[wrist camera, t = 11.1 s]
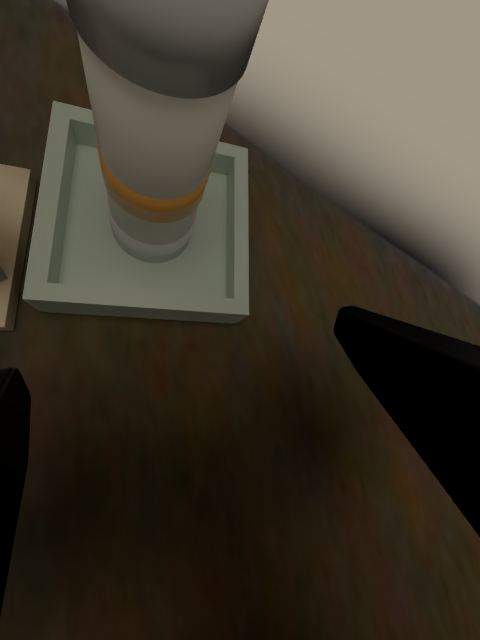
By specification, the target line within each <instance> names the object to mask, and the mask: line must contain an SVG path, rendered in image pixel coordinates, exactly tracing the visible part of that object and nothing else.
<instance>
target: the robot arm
mask: <svg viewBox="0 0 480 640" xmlns="http://www.w3.org/2000/svg"><path fill="white" fill-rule="evenodd" d="M334 334H335V336H336V338H337V339H338V341H339V343H340V344H341V346H342V348H343V349H344V351H345V353H346V354H347V356H348V358H349V359H350V361H351V363H352V364H353V366H354V367H355V369H356V371H357V372H358V373H359V375H360V376H361V378H362V379H363V380H364V382H365V383H366V384H367V386H368V387H369V388H370V390H371V391H372V392H373V394H374V395H375V396H376V398H377V399H378V400H379V402H380V403H381V404H382V406H383V407H384V409H385V410H386V411H387V413H388V414H389V415H390V417H391V418H392V419H393V421H394V422H395V423H396V425H397V426H398V427H399V429H400V430H401V431H402V433H403V434H404V435H405V437H406V438H407V439H408V441H409V442H410V443H411V445H412V446H413V447H414V449H415V450H416V451H417V453H418V454H419V456H420V457H421V458H422V460H423V461H424V462H425V464H426V465H427V466H428V468H429V469H430V470H431V472H432V473H433V474H434V476H435V477H436V478H437V480H438V481H439V482H440V484H441V485H442V486H443V488H444V489H445V490H446V492H447V493H448V494H449V496H450V497H451V499H452V500H453V502H454V503H455V504H456V506H457V507H458V508H459V510H460V511H461V512H462V514H463V515H464V516H465V518H466V519H467V520H468V522H469V523H470V524H471V526H472V527H473V528H474V530H475V531H476V532H477V534H478V535H479V537H480V346H478V345H473V344H471V343H468V342H465V341H462V340H459V339H456V338H453V337H450V336H446V335H443V334H440V333H437V332H434V331H431V330H428V329H424V328H421V327H418V326H415V325H412V324H409V323H406V322H403V321H399V320H396V319H393V318H390V317H387V316H384V315H381V314H378V313H374V312H371V311H368V310H365V309H362V308H359V307H356V306H346V307H342V308H340V310H339V311H338V315H337V318H336V322H335V325H334ZM30 409H31V397H30V392H29V390H28V388H27V386H26V384H25V381H24V379H23V377H22V375H21V373H20V371H19V370H18V369H17V368H16V367H7V368H2V369H0V615H1V610H2V604H3V599H4V593H5V588H6V582H7V577H8V571H9V565H10V560H11V554H12V549H13V543H14V538H15V532H16V527H17V521H18V515H19V510H20V504H21V499H22V493H23V488H24V482H25V477H26V471H27V464H28V453H29V431H30Z"/></svg>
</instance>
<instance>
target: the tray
mask: <svg viewBox="0 0 480 640" xmlns="http://www.w3.org/2000/svg"><path fill="white" fill-rule="evenodd" d="M107 197H108V196H107V190H106V187H105V184H104V180H103V176H102V171H101V166H100V160H99V155H98V150H97V136H96V131H95V125H94V120H93V114H92V110H89V109H85V108H81V107H77V106H73V105H69V104H64V103H60V102H56V101H53V105H52V112H51V118H50V125H49V131H48V137H47V144H46V150H45V157H44V163H43V169H42V176H41V182H40V189H39V195H38V201H37V208H36V214H35V221H34V227H33V233H32V240H31V246H30V253H29V259H28V265H27V272H26V278H25V285H24V291H23V297H22V299H23V300H24V301H26V302H27V303H29V304H30V305H32V306H33V307H34V308H36V309H37V310H39V311H40V312H50V313H67V314H83V315H99V316H116V317H132V318H149V319H165V320H182V321H198V322H215V323H231V324H236V323H238V322H239V321H241V320H242V319H244V318H245V317H247V316H248V315H249V246H248V149H247V148H243V147H239V146H235V145H231V144H227V143H223V142H218V145H217V149H216V152H215V155H214V158H213V161H212V167H211V172H210V175H209V178H208V181H207V184H206V188H205V191H204V194H203V197H202V200H201V202H200V204H199V206H198V209H197V216H196V222H195V225H194V228H193V231H192V234H191V237H190V240H189V243H188V245H187V247H186V248H185V250H184V251H183V252H182V253H181V254H180V255H179V256H177V257H176V258H174V259H172V260H170V261H166V262H161V263H149V262H144V261H141V260H138V259H136V258H134V257H132V256H130V255H129V254H127V253H126V252H125V251H124V250H123V249H122V248H121V247H120V246H119V245H118V243H117V242H116V240H115V238H114V236H113V233H112V229H111V223H110V218H109V213H108V208H107Z"/></svg>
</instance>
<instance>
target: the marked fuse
mask: <svg viewBox="0 0 480 640" xmlns="http://www.w3.org/2000/svg"><path fill="white" fill-rule="evenodd" d="M267 3H268V0H67V6H68V10H69V14H70V17H71V19H72V22H73V24H74V26H75V28H76V30H77V33H78V38H79V44H80V49H81V55H82V60H83V65H84V71H85V76H86V82H87V87H88V93H89V98H90V103H91V109H92V114H93V120H94V125H95V131H96V136H97V150H98V155H99V160H100V166H101V171H102V176H103V180H104V184H105V187H106V190H107V196H108V197H107V208H108V213H109V218H110V223H111V229H112V233H113V236H114V238H115V240H116V242H117V243H118V245H119V246H120V247H121V248H122V249H123V250H124V251H125V252H126V253H127V254H129V255H130V256H132V257H134V258H136V259H138V260H141V261H144V262H149V263H161V262H166V261H170V260H172V259H174V258H176V257H177V256H179V255H180V254H181V253H182V252H183V251H184V250H185V248H186V247H187V245H188V243H189V240H190V237H191V234H192V231H193V228H194V225H195V222H196V216H197V209H198V206H199V204H200V202H201V200H202V197H203V194H204V191H205V188H206V184H207V181H208V178H209V175H210V172H211V167H212V161H213V158H214V155H215V152H216V149H217V145H218V142H219V139H220V136H221V133H222V130H223V126H224V123H225V120H226V117H227V114H228V111H229V107H230V104H231V101H232V98H233V94H234V92H235V88H236V85H237V82H238V81H239V80H240V78H241V77H242V76H243V74H244V72H245V70H246V67H247V64H248V61H249V58H250V55H251V52H252V49H253V46H254V43H255V40H256V37H257V34H258V31H259V28H260V25H261V22H262V19H263V15H264V13H265V9H266V7H267Z"/></svg>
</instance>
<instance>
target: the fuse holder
mask: <svg viewBox="0 0 480 640" xmlns="http://www.w3.org/2000/svg"><path fill="white" fill-rule="evenodd" d="M36 185H37V181H36V179H35V177H34V175H33V173H32V172H31V170H30V169H25V168H19V167H14V166H8V165H3V164H0V330H3V331H13V330H14V324H15V318H16V311H17V305H18V299H19V292H20V286H21V280H22V274H23V267H24V261H25V255H26V248H27V242H28V236H29V230H30V223H31V217H32V211H33V204H34V198H35V192H36Z"/></svg>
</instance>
